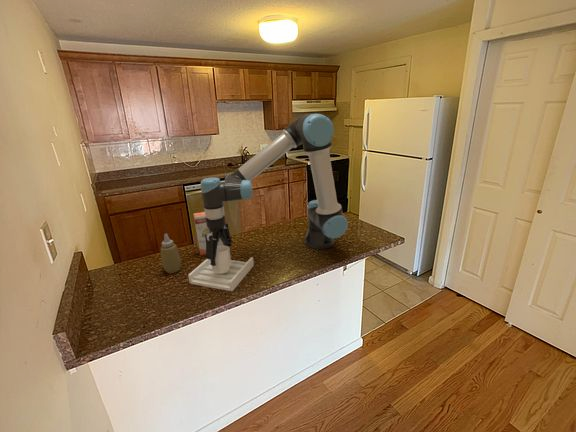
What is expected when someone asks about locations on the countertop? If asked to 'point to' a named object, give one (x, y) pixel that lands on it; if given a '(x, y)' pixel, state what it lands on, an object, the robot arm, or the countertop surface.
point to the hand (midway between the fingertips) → (222, 265)
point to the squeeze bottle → (170, 256)
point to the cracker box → (202, 232)
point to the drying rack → (220, 275)
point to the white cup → (223, 259)
